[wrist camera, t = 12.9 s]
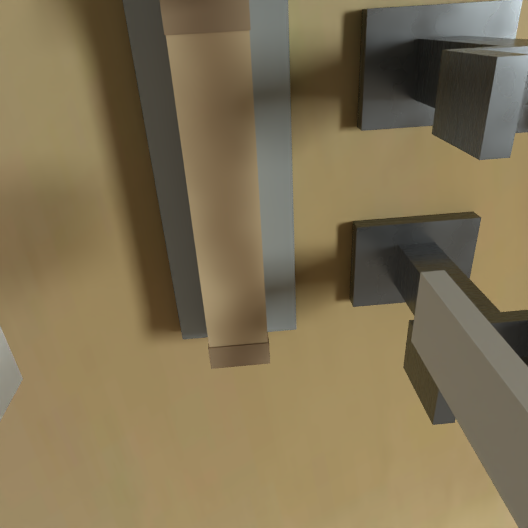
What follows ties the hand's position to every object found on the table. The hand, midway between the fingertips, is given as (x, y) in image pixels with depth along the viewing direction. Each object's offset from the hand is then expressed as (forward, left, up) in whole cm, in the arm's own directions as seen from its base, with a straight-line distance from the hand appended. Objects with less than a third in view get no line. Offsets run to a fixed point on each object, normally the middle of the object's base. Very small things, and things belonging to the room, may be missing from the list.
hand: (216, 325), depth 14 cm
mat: (0, 0, -15) cm, 15 cm away
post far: (+6, +12, -15) cm, 20 cm away
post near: (-6, +12, -15) cm, 20 cm away
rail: (0, 0, -14) cm, 14 cm away
